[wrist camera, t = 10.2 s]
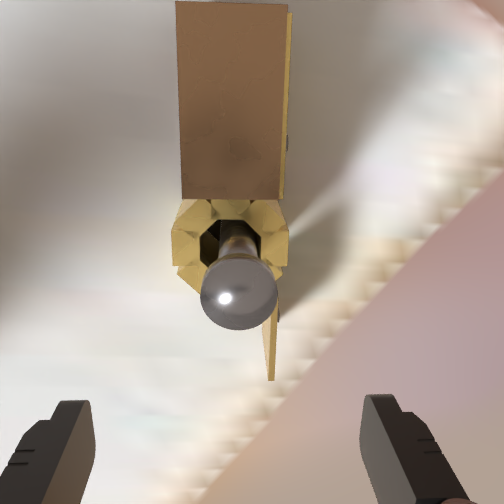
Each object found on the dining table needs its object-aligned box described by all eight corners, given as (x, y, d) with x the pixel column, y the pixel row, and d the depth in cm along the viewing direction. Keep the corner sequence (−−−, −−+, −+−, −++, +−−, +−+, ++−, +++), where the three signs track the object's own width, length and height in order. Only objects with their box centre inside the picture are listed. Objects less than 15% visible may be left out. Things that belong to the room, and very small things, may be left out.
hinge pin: (262, 193, 32) (279, 261, 21) (261, 242, 33) (276, 329, 22) (211, 193, 32) (199, 261, 20) (211, 242, 33) (201, 330, 22)
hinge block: (273, 328, 36) (284, 395, 28) (185, 328, 35) (174, 397, 28) (287, 23, 28) (307, 5, 20) (175, 19, 28) (154, 0, 20)
